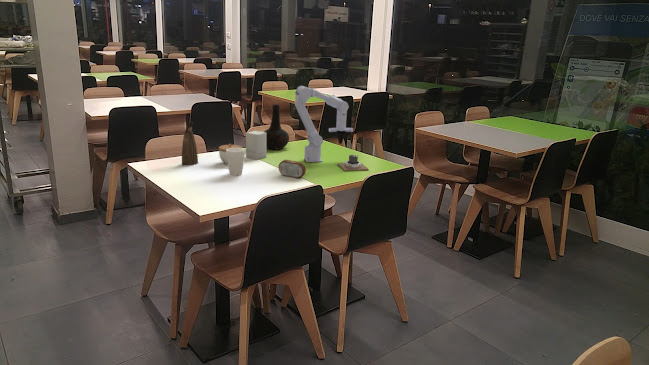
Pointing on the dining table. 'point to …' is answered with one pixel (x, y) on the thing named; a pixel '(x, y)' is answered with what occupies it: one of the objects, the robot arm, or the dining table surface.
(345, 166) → the octagonal socket plate
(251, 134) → the supplement box
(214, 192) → the dining table surface
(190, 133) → the statue
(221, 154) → the lidded bowl
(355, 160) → the dark grey cylinder peg
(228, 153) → the foam cup
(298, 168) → the tin
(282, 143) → the dark vase
